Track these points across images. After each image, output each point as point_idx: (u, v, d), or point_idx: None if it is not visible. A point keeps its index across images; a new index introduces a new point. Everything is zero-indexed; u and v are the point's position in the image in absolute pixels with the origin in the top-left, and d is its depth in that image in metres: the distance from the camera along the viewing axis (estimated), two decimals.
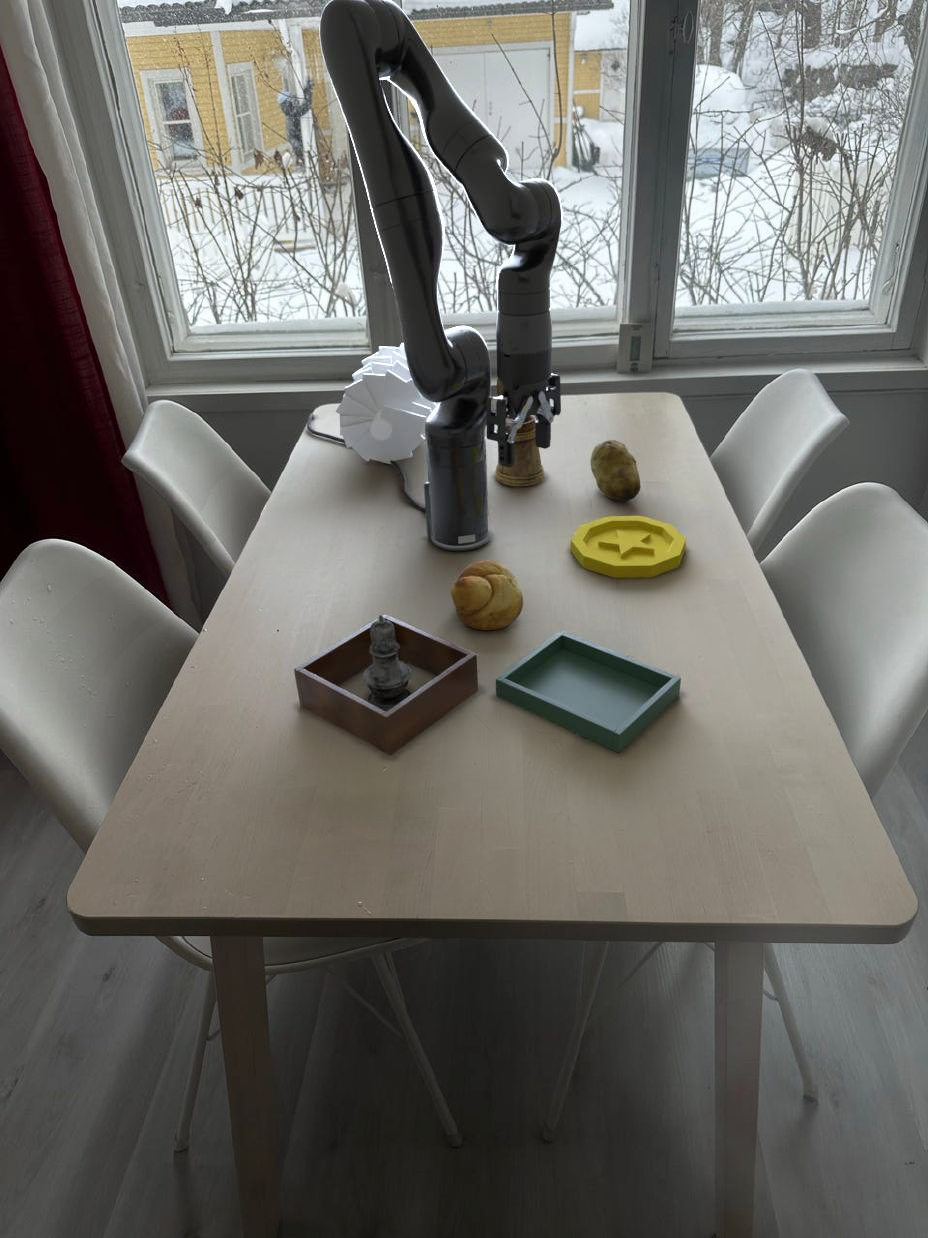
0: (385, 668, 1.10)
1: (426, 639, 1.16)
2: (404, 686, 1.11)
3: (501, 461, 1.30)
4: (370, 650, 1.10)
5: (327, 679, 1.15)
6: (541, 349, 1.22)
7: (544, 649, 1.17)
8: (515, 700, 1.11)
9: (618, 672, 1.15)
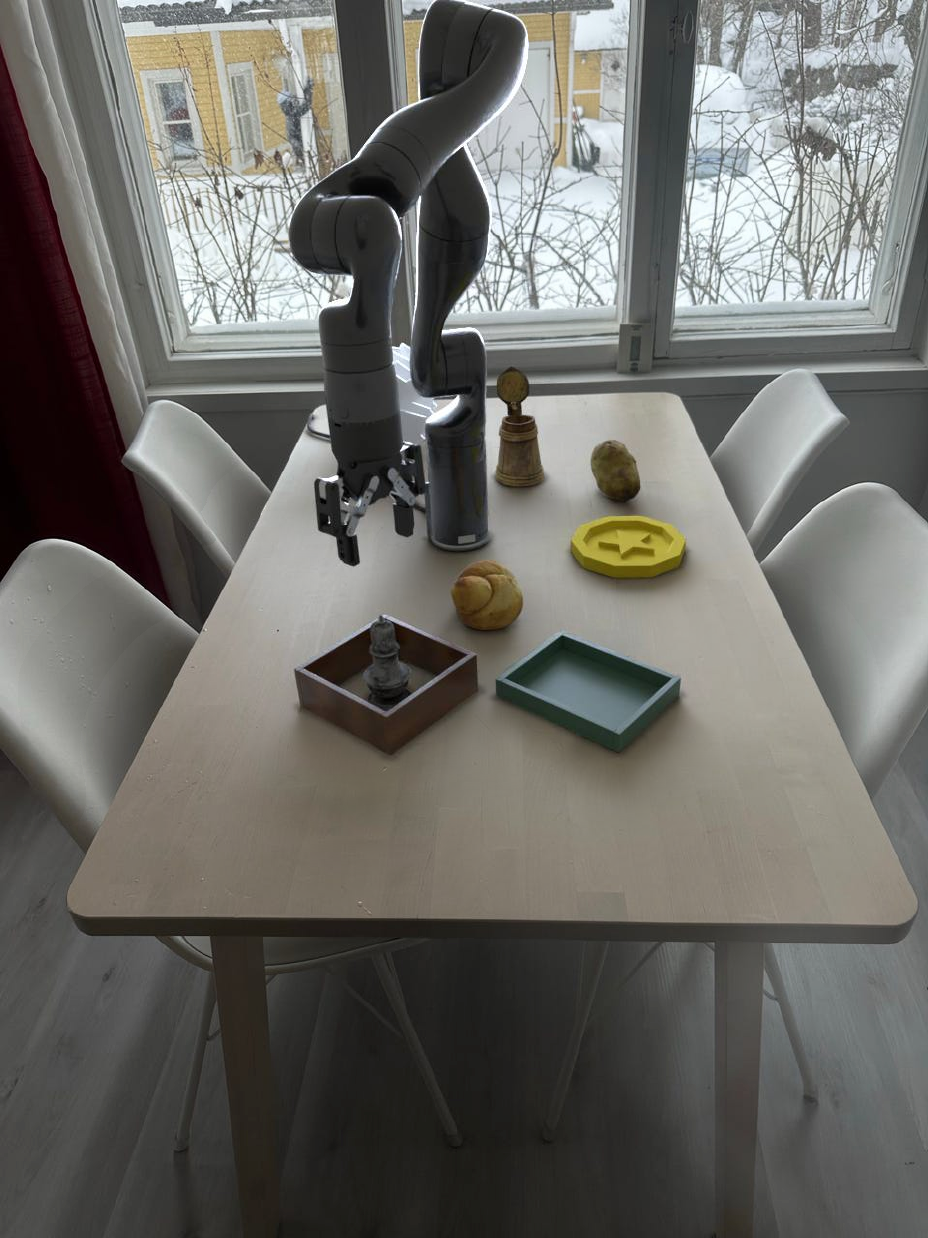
0: (385, 668, 1.10)
1: (426, 639, 1.16)
2: (404, 686, 1.11)
3: (342, 558, 0.99)
4: (370, 650, 1.10)
5: (327, 679, 1.15)
6: (382, 416, 0.92)
7: (544, 649, 1.17)
8: (515, 700, 1.11)
9: (618, 672, 1.15)
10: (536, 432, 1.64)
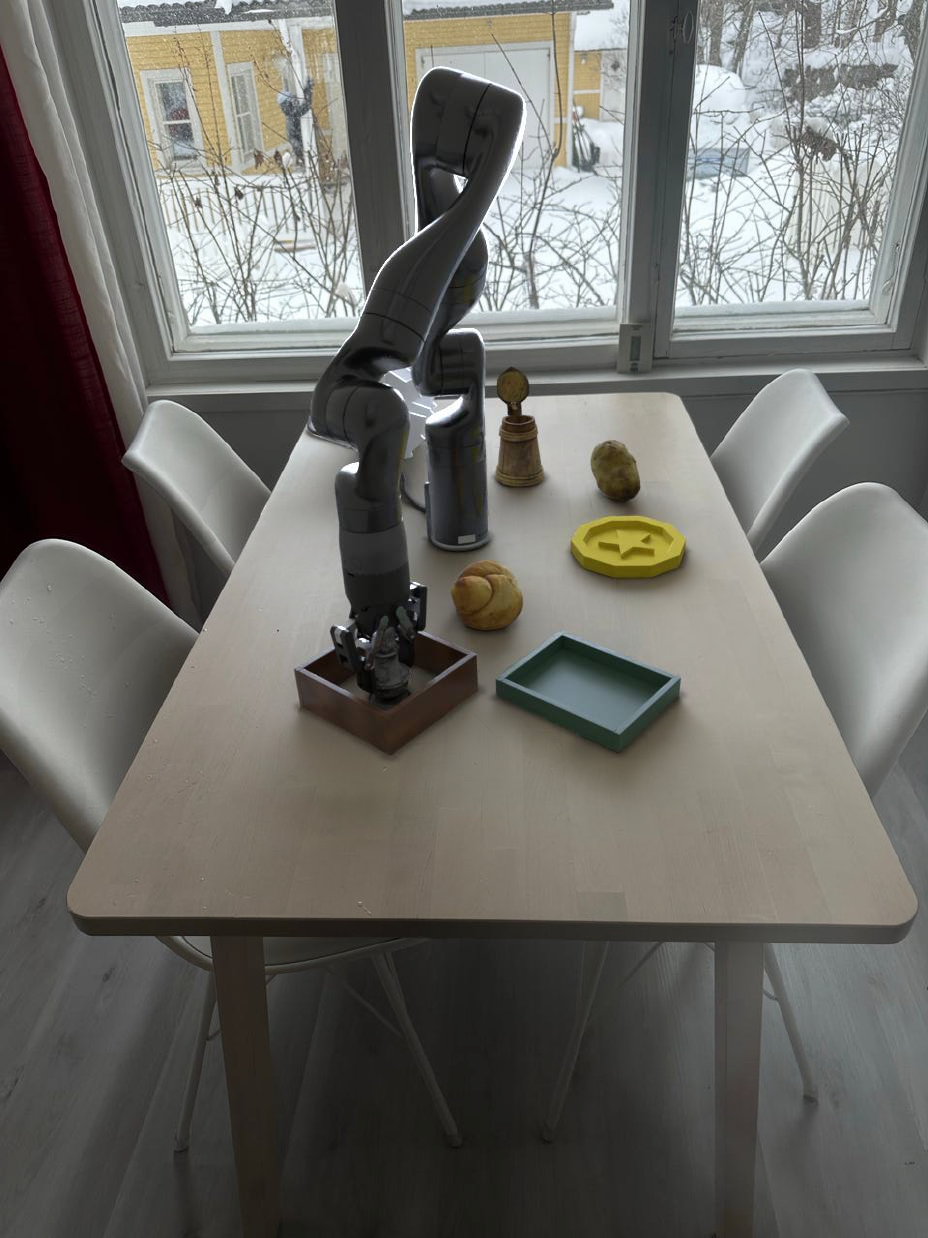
0: (385, 668, 1.10)
1: (426, 639, 1.16)
2: (404, 686, 1.11)
3: (360, 687, 1.09)
4: None
5: (327, 679, 1.15)
6: (391, 568, 1.01)
7: (544, 649, 1.17)
8: (515, 700, 1.11)
9: (618, 672, 1.15)
10: (536, 432, 1.64)
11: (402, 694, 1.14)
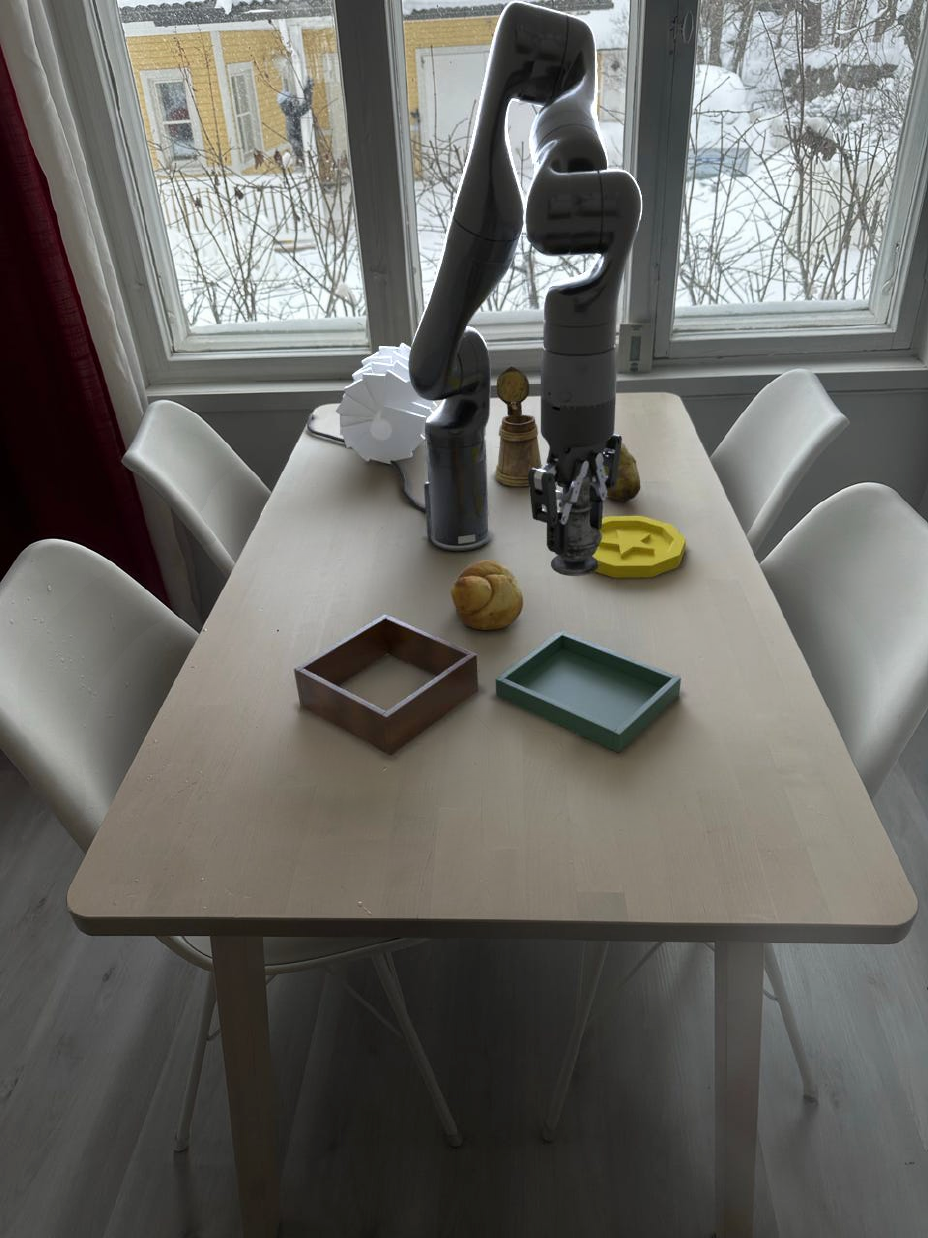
0: (577, 525, 0.99)
1: (426, 639, 1.16)
2: (595, 548, 1.00)
3: (550, 546, 0.99)
4: None
5: (327, 679, 1.15)
6: (603, 400, 0.90)
7: (544, 649, 1.17)
8: (515, 700, 1.11)
9: (618, 672, 1.15)
10: (536, 432, 1.64)
11: (589, 560, 1.03)
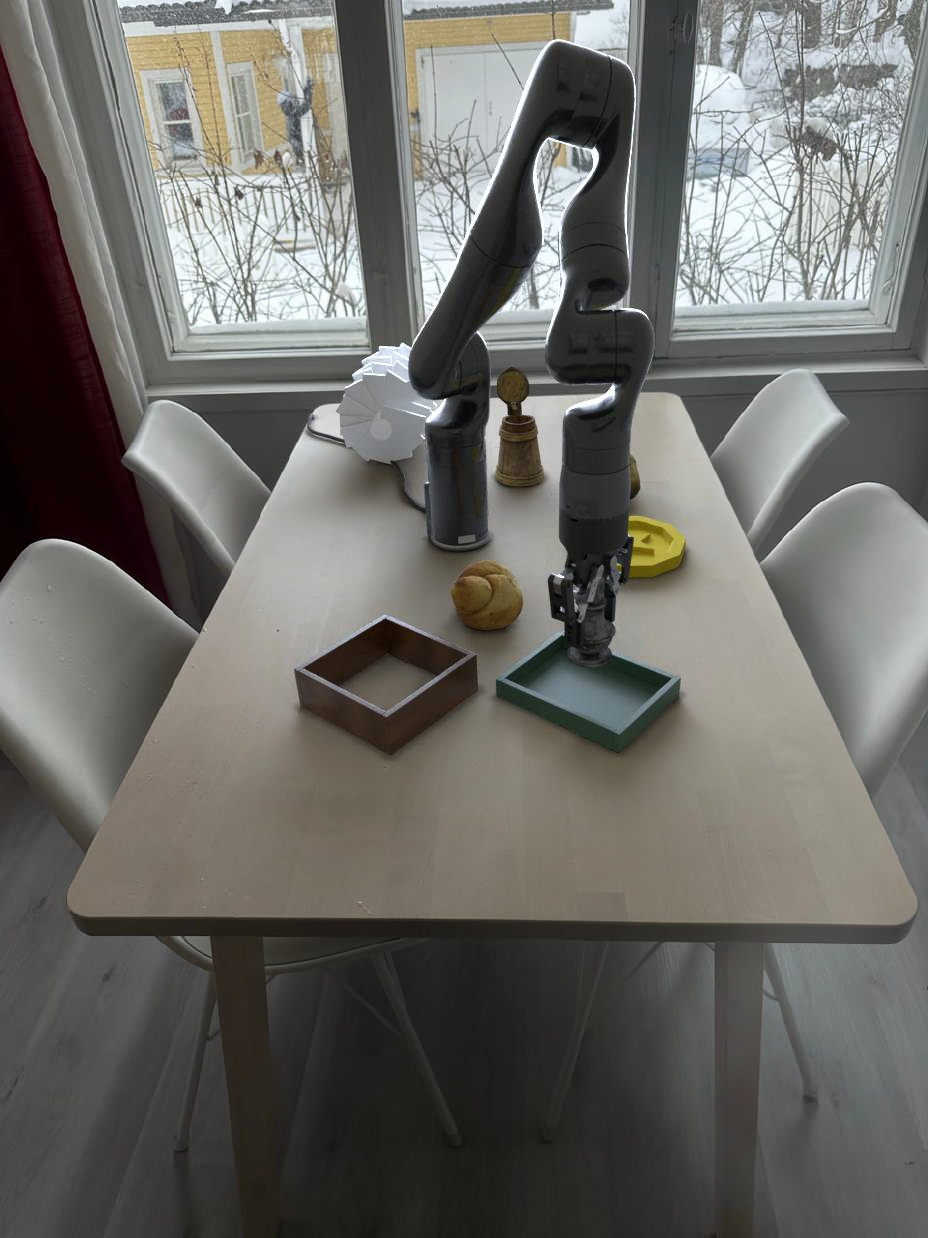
0: (592, 621, 1.05)
1: (426, 639, 1.16)
2: (610, 641, 1.07)
3: (568, 641, 1.05)
4: (578, 602, 1.05)
5: (327, 679, 1.15)
6: (618, 513, 0.97)
7: (544, 649, 1.17)
8: (515, 700, 1.11)
9: (618, 672, 1.15)
10: (536, 432, 1.64)
11: (603, 650, 1.09)
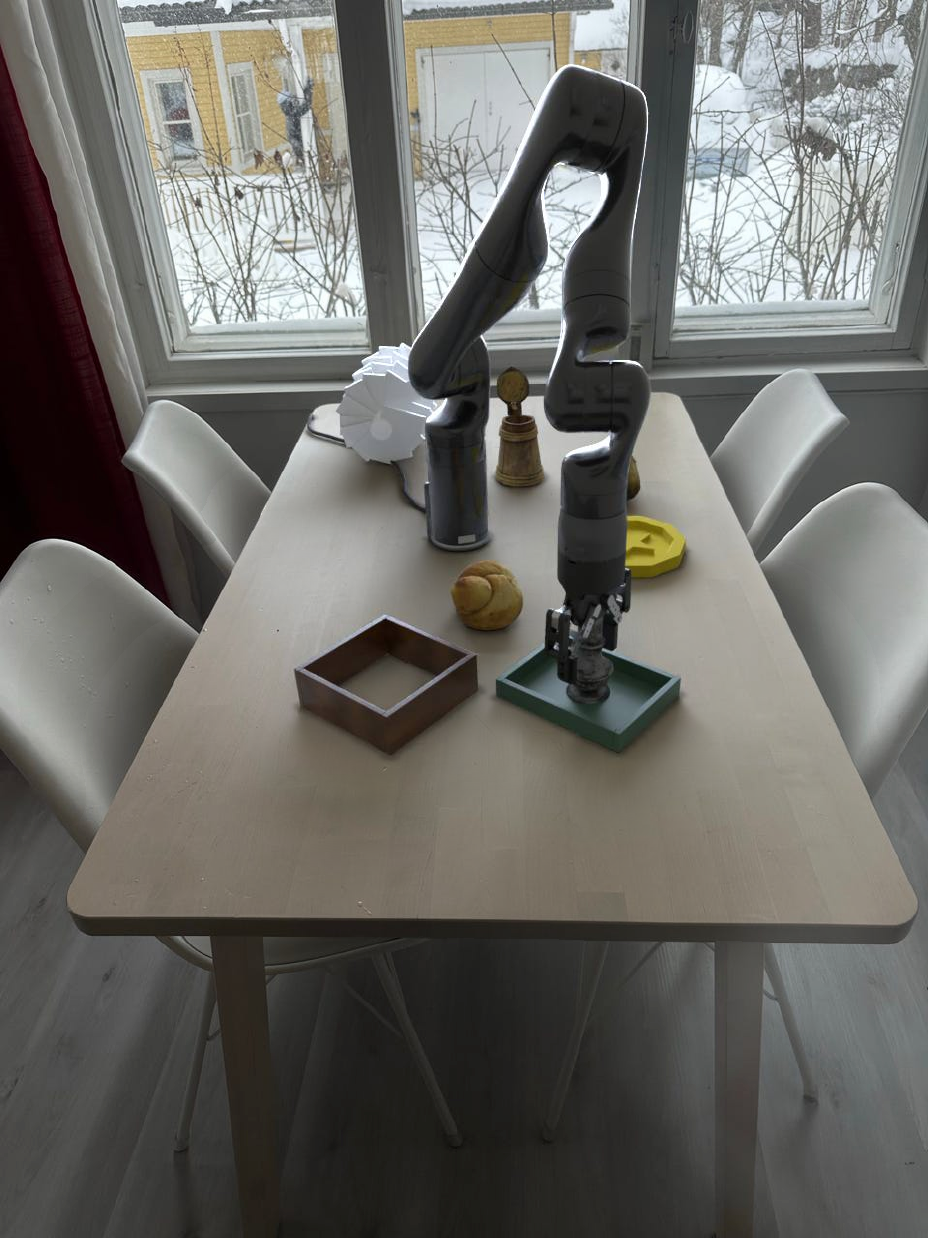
0: (591, 660, 1.08)
1: (426, 639, 1.16)
2: (608, 679, 1.10)
3: (561, 677, 1.07)
4: None
5: (327, 679, 1.15)
6: (615, 555, 0.99)
7: None
8: (515, 700, 1.11)
9: (618, 672, 1.15)
10: (536, 432, 1.64)
11: (601, 687, 1.12)
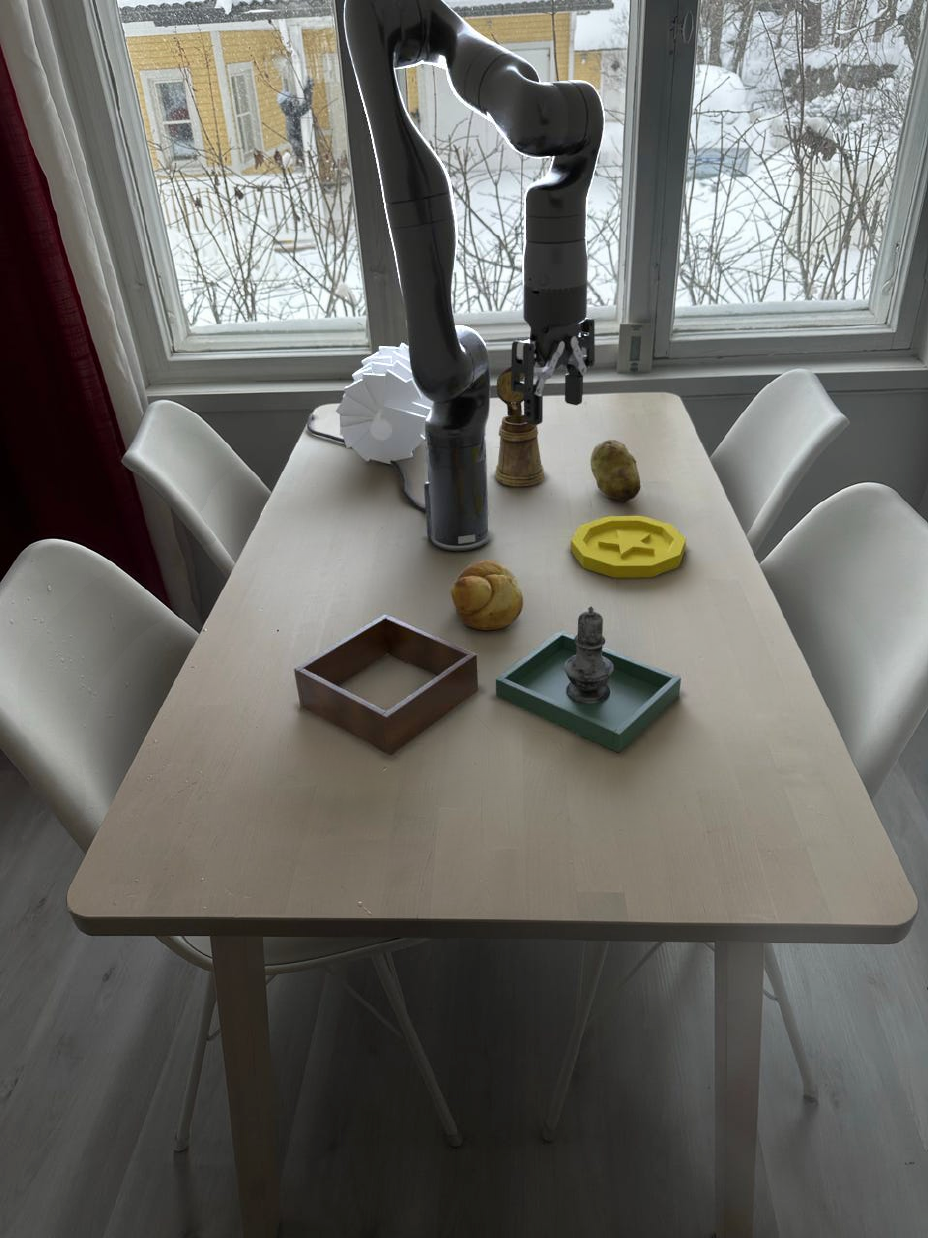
0: (591, 660, 1.08)
1: (426, 639, 1.16)
2: (608, 678, 1.10)
3: (527, 417, 1.13)
4: (577, 641, 1.08)
5: (327, 679, 1.15)
6: (575, 284, 1.05)
7: (544, 649, 1.17)
8: (515, 700, 1.11)
9: (618, 672, 1.15)
10: (536, 432, 1.64)
11: (601, 687, 1.12)
